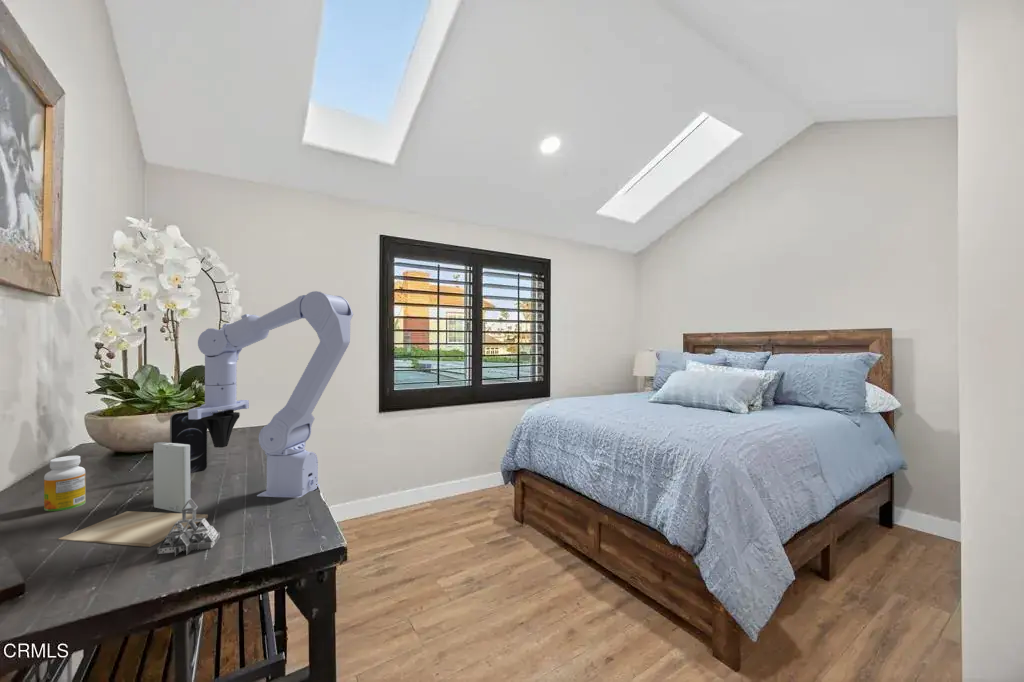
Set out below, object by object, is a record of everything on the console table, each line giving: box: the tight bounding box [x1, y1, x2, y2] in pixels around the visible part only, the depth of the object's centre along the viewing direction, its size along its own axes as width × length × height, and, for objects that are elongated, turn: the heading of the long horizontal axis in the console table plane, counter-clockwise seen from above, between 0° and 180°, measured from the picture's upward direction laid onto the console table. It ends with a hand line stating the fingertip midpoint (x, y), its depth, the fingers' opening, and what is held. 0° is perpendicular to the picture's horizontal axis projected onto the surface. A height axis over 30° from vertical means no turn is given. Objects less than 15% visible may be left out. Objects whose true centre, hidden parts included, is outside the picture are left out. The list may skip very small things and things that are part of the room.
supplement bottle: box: [43, 455, 86, 512], centre depth 80 cm, size 5×5×10 cm
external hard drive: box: [152, 441, 191, 513], centre depth 80 cm, size 2×8×12 cm, turn 72°
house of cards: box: [156, 498, 221, 557], centre depth 63 cm, size 9×9×8 cm
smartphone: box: [169, 411, 208, 474], centre depth 101 cm, size 8×1×15 cm, turn 148°
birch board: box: [58, 510, 209, 548], centre depth 71 cm, size 16×11×1 cm
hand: (220, 446), depth 92 cm, fingers closed
